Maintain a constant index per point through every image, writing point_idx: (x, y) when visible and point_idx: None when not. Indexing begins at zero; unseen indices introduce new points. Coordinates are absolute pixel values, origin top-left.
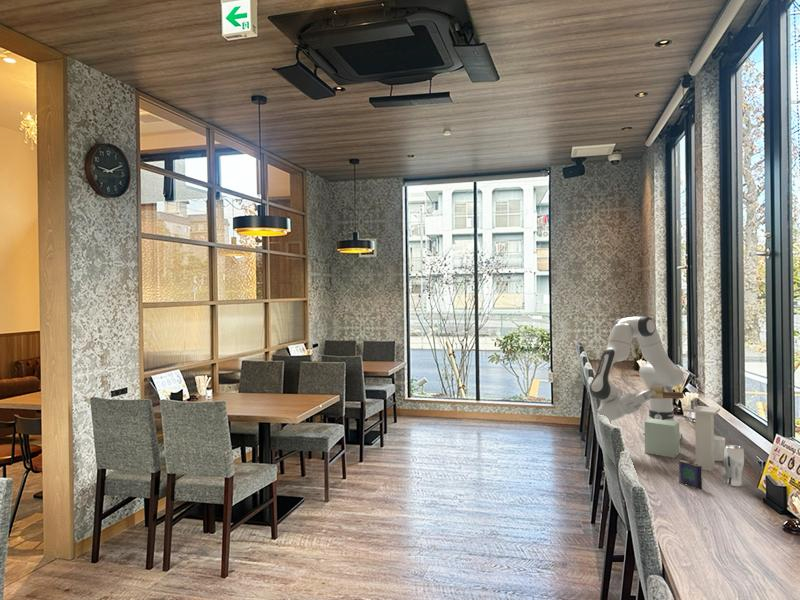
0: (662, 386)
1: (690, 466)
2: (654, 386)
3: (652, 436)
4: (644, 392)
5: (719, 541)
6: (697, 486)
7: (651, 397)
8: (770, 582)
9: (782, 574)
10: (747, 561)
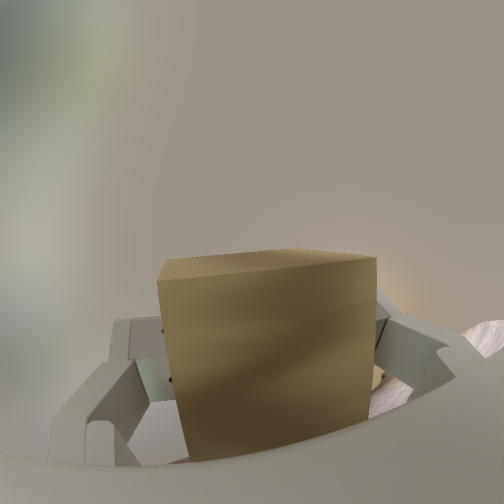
0: (185, 259)
1: None
2: (197, 270)
3: None
4: (433, 399)
5: (496, 345)
6: None
7: (364, 412)
8: (490, 324)
9: (476, 328)
10: (490, 333)
